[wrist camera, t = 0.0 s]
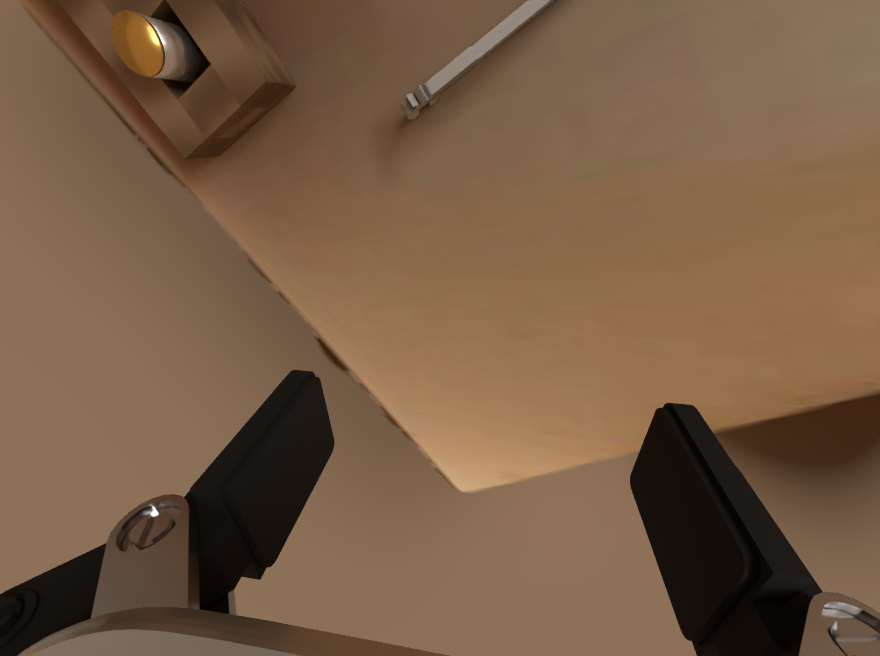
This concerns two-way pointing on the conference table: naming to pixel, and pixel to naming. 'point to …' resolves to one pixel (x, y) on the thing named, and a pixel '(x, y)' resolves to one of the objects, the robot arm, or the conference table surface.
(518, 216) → the conference table surface
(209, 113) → the knob console
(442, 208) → the conference table surface
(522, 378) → the conference table surface
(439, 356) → the conference table surface
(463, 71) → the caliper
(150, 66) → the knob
